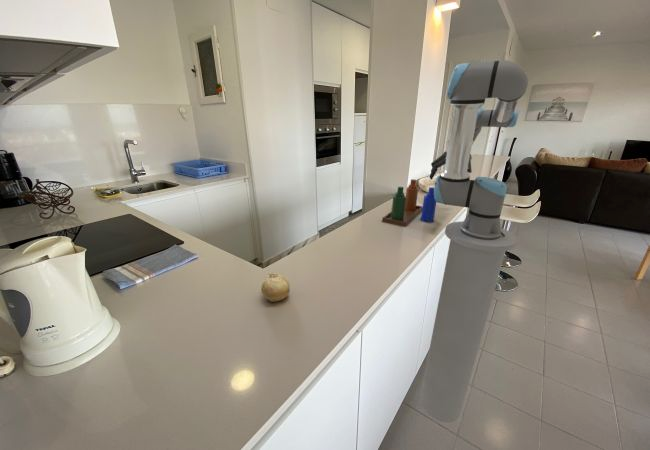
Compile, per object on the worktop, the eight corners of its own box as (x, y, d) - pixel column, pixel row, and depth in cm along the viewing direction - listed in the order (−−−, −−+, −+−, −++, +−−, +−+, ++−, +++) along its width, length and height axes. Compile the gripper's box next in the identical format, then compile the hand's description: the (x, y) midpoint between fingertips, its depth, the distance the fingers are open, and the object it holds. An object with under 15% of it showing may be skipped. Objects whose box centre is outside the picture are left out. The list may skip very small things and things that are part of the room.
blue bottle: (434, 219, 139) (440, 187, 133) (431, 223, 134) (437, 190, 128) (422, 217, 142) (427, 185, 136) (419, 220, 137) (423, 188, 131)
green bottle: (404, 219, 137) (408, 186, 131) (400, 223, 132) (404, 189, 126) (393, 217, 140) (396, 185, 134) (389, 220, 136) (392, 187, 129)
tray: (422, 210, 153) (423, 206, 152) (405, 226, 130) (405, 222, 129) (402, 206, 159) (402, 203, 158) (382, 221, 136) (382, 217, 135)
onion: (294, 291, 81) (293, 270, 79) (283, 308, 74) (281, 285, 72) (269, 286, 83) (268, 266, 81) (256, 302, 76) (254, 280, 74)
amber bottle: (416, 209, 153) (420, 179, 147) (413, 211, 148) (417, 181, 142) (406, 207, 156) (409, 178, 150) (402, 209, 151) (406, 180, 145)
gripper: (489, 154, 135) (470, 189, 132) (440, 149, 153) (422, 180, 149) (487, 143, 130) (467, 179, 126) (437, 140, 147) (418, 171, 144)
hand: (443, 180), depth 138 cm, fingers open, 13 cm apart
